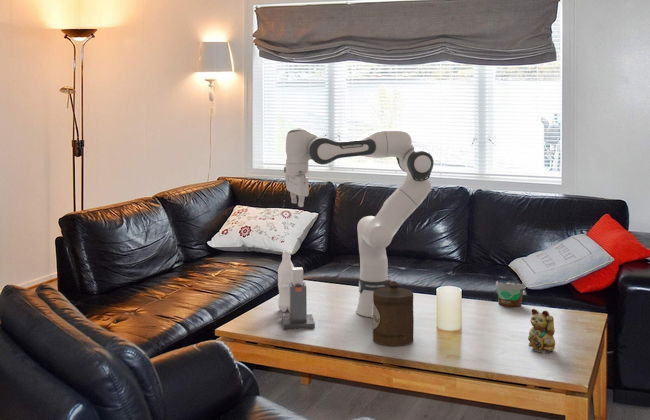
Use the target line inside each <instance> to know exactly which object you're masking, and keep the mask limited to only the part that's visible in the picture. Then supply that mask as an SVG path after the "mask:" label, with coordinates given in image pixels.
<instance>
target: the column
mask: <svg viewBox="0 0 650 420" xmlns="http://www.w3.org/2000/svg"><path fill="white" fill-rule="evenodd" d="M303 282H304V269H303V267H302V266H301V267H300V266H299V267H298V266H297V267H295V266H294V267H293V268H292V286H296V285H297V284H301V286H303Z"/></svg>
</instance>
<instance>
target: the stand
mask: <svg viewBox="0 0 650 420" xmlns="http://www.w3.org/2000/svg"><path fill="white" fill-rule="evenodd" d="M307 305H308V304H307V284H306V282H305V281H303V286H301V284H297V285H296V286H292V283H289V311H288V312H289V314H287V315H285V314H284V315H281V323H282V328H283V331H284V330H305V329H306V330H307V329H316V323H315V319H314V317H313V314H310V313H309V314H308V313H307Z"/></svg>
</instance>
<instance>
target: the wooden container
mask: <svg viewBox="0 0 650 420" xmlns="http://www.w3.org/2000/svg"><path fill="white" fill-rule="evenodd" d="M389 286H390V287H385V288H379V289H376V290H374V292H373V318H372V340H373V342H374V343H376V344H378V345H381V346H384V347H385V346H386V347H404V346H408V345H410V344H411V343H413V342H414V327H415V326H414V325H415V323H414V319H415V318H414V291H413V290H411V289H410V288H409V289H408V288H404V287H403V288H402V287H399V283H398V282H396V281H394V280H392V281H391V282H390V283H389Z"/></svg>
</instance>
